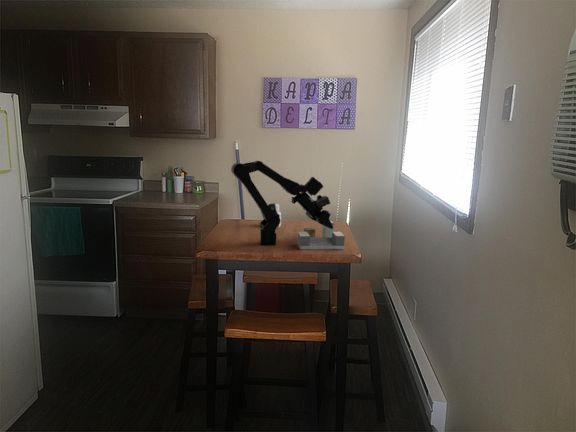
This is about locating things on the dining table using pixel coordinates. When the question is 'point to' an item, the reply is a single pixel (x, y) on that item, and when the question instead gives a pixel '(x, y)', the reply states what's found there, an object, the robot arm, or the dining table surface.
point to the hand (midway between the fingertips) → (329, 226)
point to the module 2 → (338, 238)
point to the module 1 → (303, 239)
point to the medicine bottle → (277, 211)
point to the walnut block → (310, 231)
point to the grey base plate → (321, 243)
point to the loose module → (327, 230)
